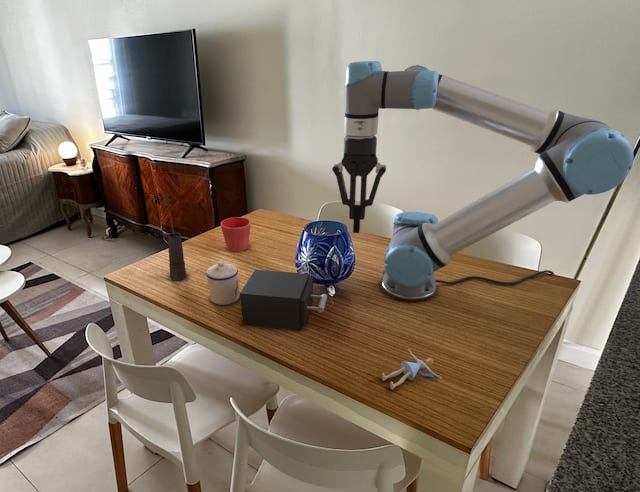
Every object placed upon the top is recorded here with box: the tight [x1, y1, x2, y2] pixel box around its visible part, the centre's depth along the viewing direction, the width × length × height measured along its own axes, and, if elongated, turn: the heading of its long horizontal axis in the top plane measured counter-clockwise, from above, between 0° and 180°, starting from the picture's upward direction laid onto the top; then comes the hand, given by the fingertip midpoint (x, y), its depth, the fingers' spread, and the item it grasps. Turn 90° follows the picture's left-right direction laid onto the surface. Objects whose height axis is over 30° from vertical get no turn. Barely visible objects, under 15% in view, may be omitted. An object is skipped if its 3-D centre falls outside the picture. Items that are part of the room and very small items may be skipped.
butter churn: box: [165, 190, 187, 281], centre depth 138 cm, size 9×10×28 cm
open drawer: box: [300, 277, 329, 328], centre depth 121 cm, size 19×12×8 cm, turn 76°
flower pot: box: [220, 216, 252, 252], centre depth 162 cm, size 11×11×10 cm
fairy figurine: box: [381, 347, 443, 390], centre depth 99 cm, size 12×5×12 cm
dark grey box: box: [239, 269, 310, 331], centre depth 122 cm, size 16×14×10 cm
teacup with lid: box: [205, 260, 240, 306], centre depth 131 cm, size 12×9×12 cm
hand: (356, 230), depth 116 cm, fingers closed
